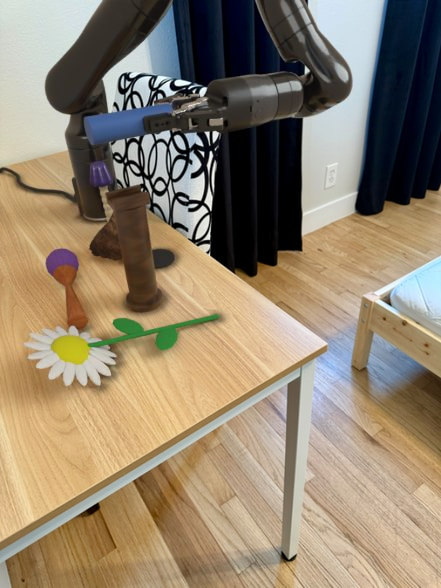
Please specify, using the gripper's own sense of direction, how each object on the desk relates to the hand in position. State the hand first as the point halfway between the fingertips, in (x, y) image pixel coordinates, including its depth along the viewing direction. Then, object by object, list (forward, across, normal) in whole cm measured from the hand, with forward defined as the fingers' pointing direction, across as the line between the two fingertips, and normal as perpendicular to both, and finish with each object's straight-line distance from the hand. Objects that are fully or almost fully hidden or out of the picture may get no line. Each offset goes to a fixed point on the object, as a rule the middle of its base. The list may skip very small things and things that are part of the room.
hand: (139, 121), depth 60 cm
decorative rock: (+2, -17, +31) cm, 35 cm away
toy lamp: (0, -26, +31) cm, 40 cm away
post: (+3, 0, +30) cm, 31 cm away
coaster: (-4, -11, +31) cm, 33 cm away
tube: (+1, 0, 0) cm, 1 cm away
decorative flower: (+9, +10, +31) cm, 34 cm away
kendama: (+14, -8, +31) cm, 35 cm away
